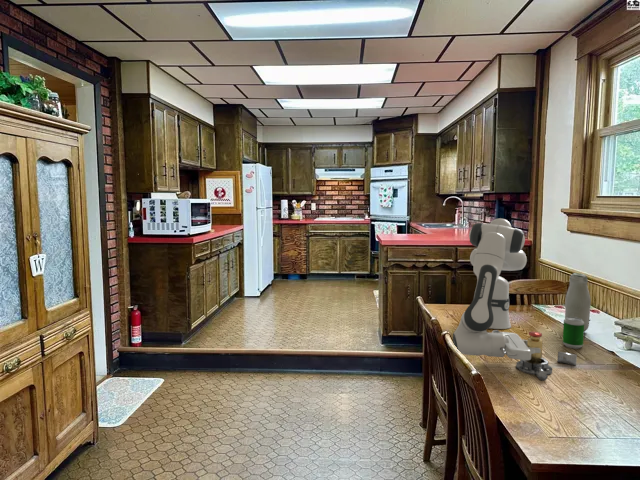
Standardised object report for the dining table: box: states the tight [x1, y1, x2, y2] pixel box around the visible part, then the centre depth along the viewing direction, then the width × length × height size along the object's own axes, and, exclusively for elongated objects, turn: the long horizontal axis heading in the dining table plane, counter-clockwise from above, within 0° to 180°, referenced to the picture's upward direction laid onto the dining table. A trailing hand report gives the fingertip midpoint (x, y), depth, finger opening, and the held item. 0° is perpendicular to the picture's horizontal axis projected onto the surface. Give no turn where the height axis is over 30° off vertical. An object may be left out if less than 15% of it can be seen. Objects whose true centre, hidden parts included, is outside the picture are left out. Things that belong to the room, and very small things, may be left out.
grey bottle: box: [564, 272, 592, 332], centre depth 201 cm, size 10×10×28 cm
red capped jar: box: [527, 331, 544, 364], centre depth 159 cm, size 5×5×12 cm
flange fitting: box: [515, 357, 553, 382], centre depth 157 cm, size 12×16×4 cm
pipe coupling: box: [557, 351, 577, 366], centre depth 165 cm, size 6×4×4 cm, turn 54°
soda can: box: [562, 317, 585, 350], centre depth 183 cm, size 8×8×12 cm
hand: (537, 347), depth 159 cm, fingers closed on red capped jar, 5 cm apart
